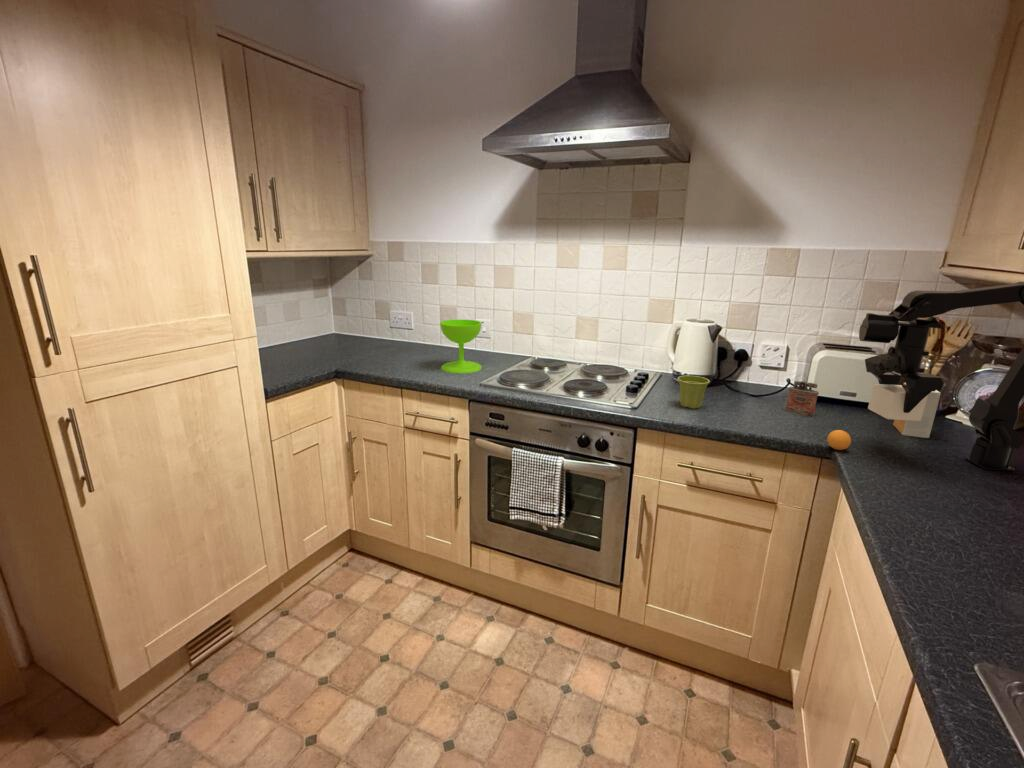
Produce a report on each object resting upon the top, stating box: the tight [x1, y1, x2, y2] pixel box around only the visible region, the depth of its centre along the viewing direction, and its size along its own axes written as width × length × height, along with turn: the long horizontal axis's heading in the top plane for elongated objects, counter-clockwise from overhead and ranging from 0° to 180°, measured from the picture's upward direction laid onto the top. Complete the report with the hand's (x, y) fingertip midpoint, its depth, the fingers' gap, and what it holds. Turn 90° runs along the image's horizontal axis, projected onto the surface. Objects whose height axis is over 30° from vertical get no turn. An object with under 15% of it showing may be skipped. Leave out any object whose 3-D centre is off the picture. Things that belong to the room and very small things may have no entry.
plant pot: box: [677, 375, 711, 409], centre depth 158 cm, size 9×9×9 cm
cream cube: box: [867, 383, 928, 421], centre depth 124 cm, size 8×8×7 cm
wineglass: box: [439, 318, 483, 374], centre depth 197 cm, size 16×16×18 cm
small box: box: [892, 382, 941, 439], centre depth 139 cm, size 8×6×13 cm
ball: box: [826, 429, 852, 451], centre depth 127 cm, size 5×5×5 cm
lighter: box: [784, 380, 820, 417], centre depth 153 cm, size 8×3×10 cm, turn 47°
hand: (894, 407), depth 124 cm, fingers closed on cream cube, 8 cm apart
